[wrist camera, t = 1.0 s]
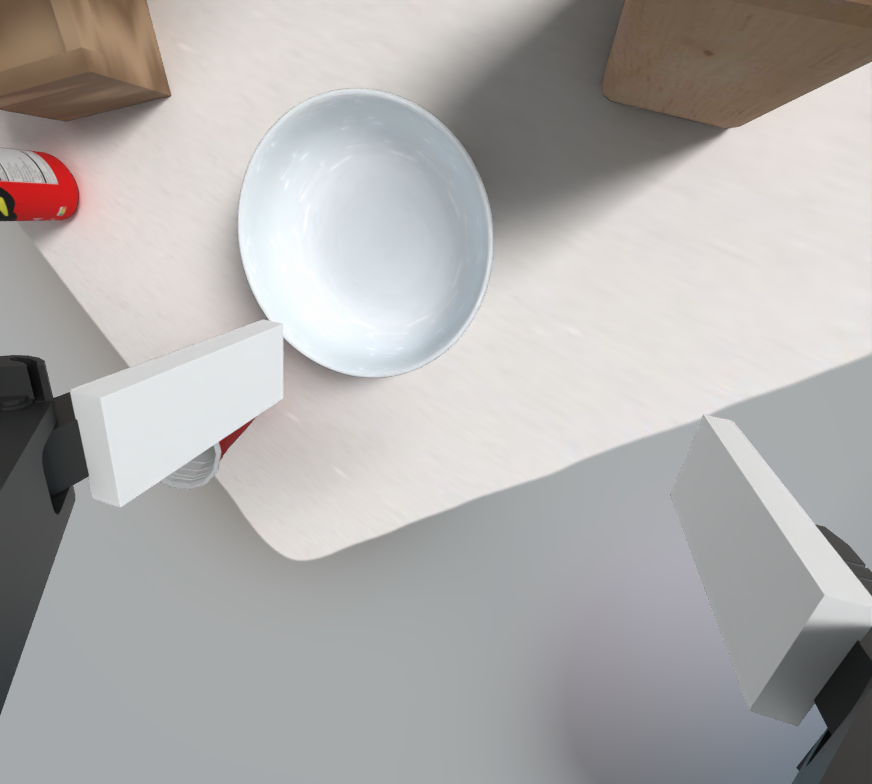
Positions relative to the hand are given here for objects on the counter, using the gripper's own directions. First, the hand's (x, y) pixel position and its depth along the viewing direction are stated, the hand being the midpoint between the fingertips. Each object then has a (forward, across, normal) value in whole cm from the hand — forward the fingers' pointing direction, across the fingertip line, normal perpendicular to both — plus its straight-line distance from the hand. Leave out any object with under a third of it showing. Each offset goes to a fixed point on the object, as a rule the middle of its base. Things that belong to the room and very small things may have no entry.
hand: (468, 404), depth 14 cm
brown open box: (+27, -42, +15) cm, 53 cm away
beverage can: (+27, -49, +1) cm, 56 cm away
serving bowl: (+28, -13, +1) cm, 30 cm away
